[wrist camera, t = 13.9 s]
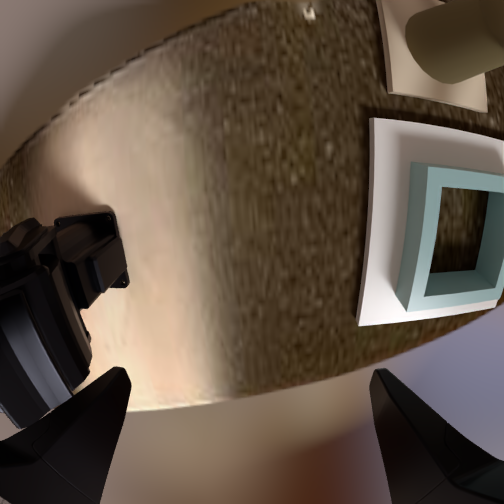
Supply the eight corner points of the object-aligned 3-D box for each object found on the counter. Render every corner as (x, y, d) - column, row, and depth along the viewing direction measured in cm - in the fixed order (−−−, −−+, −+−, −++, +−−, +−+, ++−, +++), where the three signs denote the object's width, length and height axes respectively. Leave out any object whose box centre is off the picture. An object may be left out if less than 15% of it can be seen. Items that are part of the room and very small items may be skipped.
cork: (436, 96, 15) (552, 91, 5) (388, 24, 13) (478, -39, 3) (480, 70, 13) (583, 62, 3) (439, 4, 12) (527, -40, 2)
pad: (387, 92, 16) (393, 91, 15) (373, -12, 13) (377, -17, 12) (480, 112, 16) (487, 112, 15) (467, 17, 12) (473, 14, 11)
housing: (355, 319, 23) (366, 345, 20) (369, 118, 17) (388, 116, 14) (490, 302, 22) (507, 320, 19) (518, 146, 16) (543, 151, 13)
